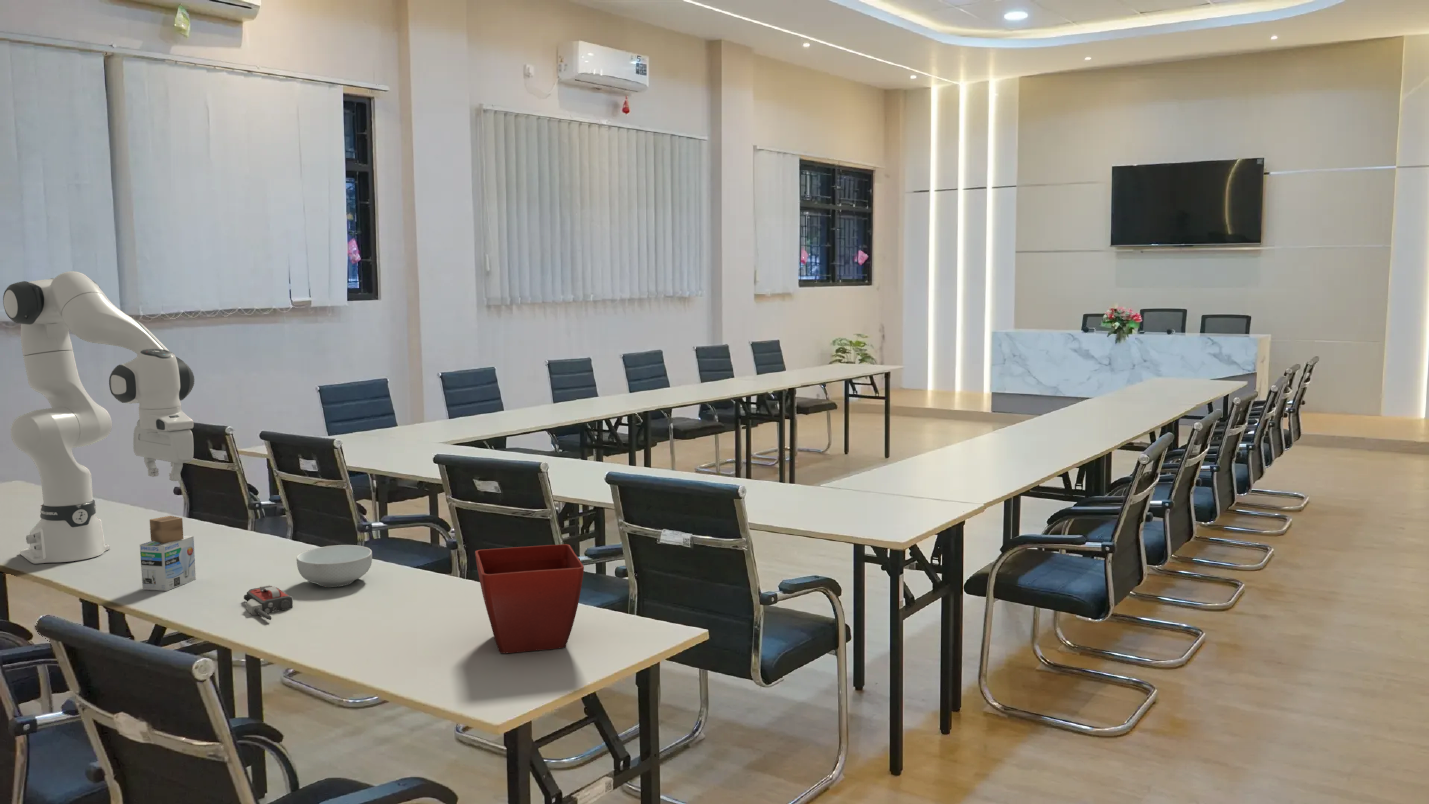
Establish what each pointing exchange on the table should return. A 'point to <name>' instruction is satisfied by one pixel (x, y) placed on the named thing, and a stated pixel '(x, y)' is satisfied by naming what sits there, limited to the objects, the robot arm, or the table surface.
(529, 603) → the plant pot
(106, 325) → the robot arm
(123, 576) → the table surface
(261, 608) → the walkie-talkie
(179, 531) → the walnut cube
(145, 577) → the light bulb box
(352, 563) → the cereal bowl
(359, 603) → the table surface
